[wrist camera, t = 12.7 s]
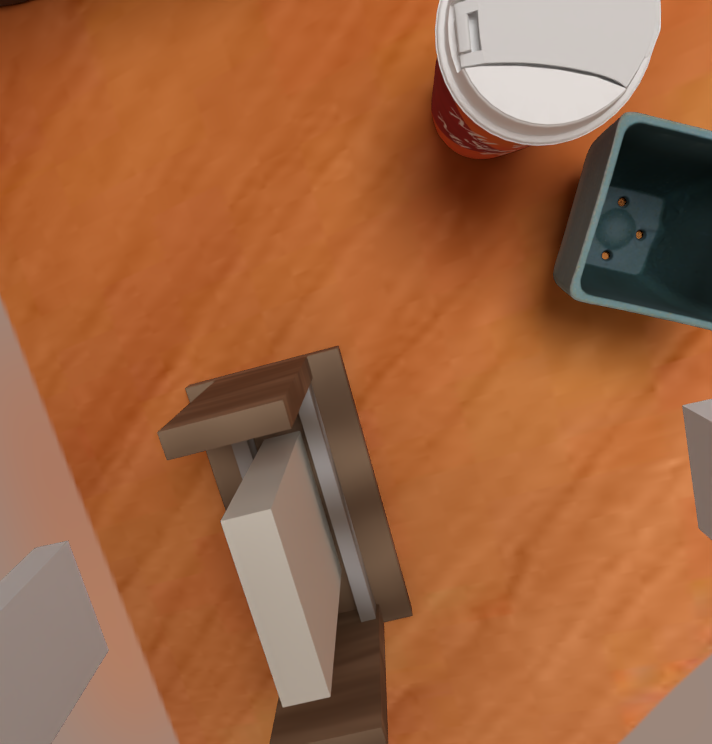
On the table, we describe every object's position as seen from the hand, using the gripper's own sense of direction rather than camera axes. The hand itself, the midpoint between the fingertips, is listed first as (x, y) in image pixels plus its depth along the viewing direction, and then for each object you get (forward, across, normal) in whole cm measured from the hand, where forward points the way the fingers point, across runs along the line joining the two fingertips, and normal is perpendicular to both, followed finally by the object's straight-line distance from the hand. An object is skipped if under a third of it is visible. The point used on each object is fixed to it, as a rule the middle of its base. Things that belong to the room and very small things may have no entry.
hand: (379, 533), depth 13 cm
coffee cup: (+28, +9, +11) cm, 31 cm away
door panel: (+26, -7, -10) cm, 29 cm away
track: (+27, -7, -10) cm, 30 cm away
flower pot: (+28, +16, +2) cm, 32 cm away
